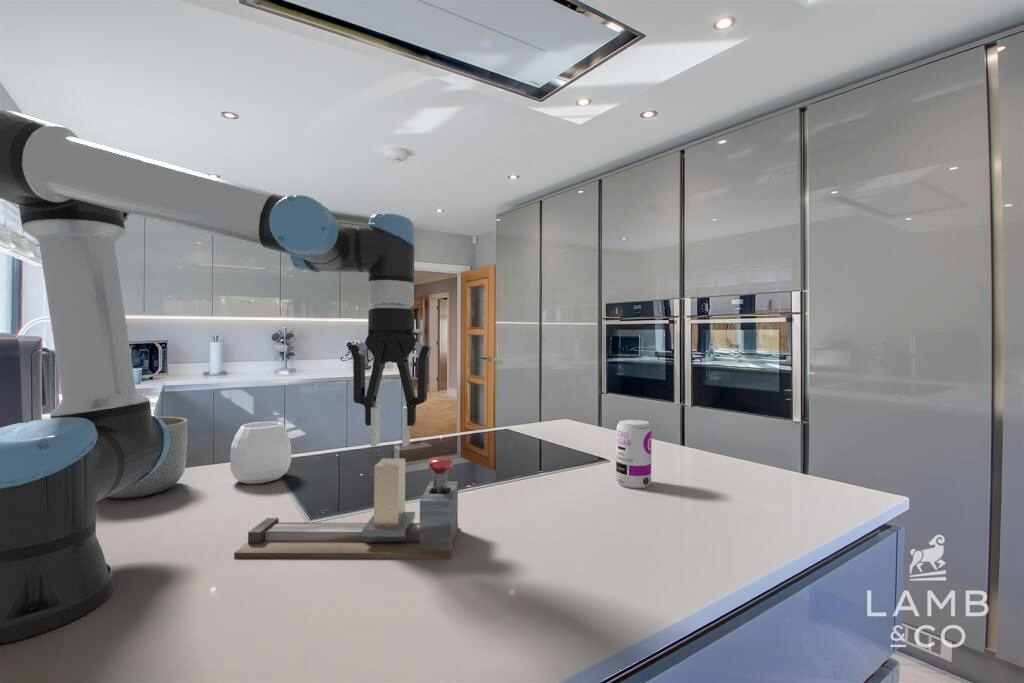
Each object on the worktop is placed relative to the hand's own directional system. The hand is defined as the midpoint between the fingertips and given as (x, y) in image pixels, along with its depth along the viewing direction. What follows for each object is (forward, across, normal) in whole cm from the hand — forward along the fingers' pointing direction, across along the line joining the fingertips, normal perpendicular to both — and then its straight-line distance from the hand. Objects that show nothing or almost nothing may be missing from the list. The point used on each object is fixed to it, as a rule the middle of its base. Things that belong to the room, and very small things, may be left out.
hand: (390, 444), depth 79 cm
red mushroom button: (+10, -9, 0) cm, 13 cm away
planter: (+17, +62, -25) cm, 69 cm away
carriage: (+16, 0, 0) cm, 16 cm away
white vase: (+17, +40, -34) cm, 55 cm away
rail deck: (+17, +6, 0) cm, 18 cm away
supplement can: (+17, -50, -32) cm, 62 cm away
